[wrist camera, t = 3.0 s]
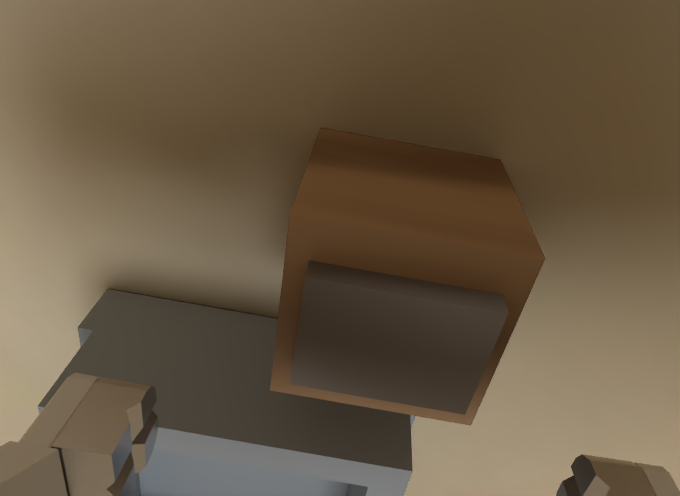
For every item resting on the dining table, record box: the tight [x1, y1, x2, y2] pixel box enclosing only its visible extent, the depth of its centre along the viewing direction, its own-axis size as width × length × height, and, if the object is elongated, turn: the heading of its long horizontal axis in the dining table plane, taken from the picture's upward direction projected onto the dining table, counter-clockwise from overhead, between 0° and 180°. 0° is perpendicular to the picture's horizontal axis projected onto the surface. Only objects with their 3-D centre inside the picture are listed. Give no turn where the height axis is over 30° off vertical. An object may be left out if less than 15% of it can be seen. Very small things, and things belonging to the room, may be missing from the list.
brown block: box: [270, 128, 545, 425], centre depth 13 cm, size 5×5×6 cm
